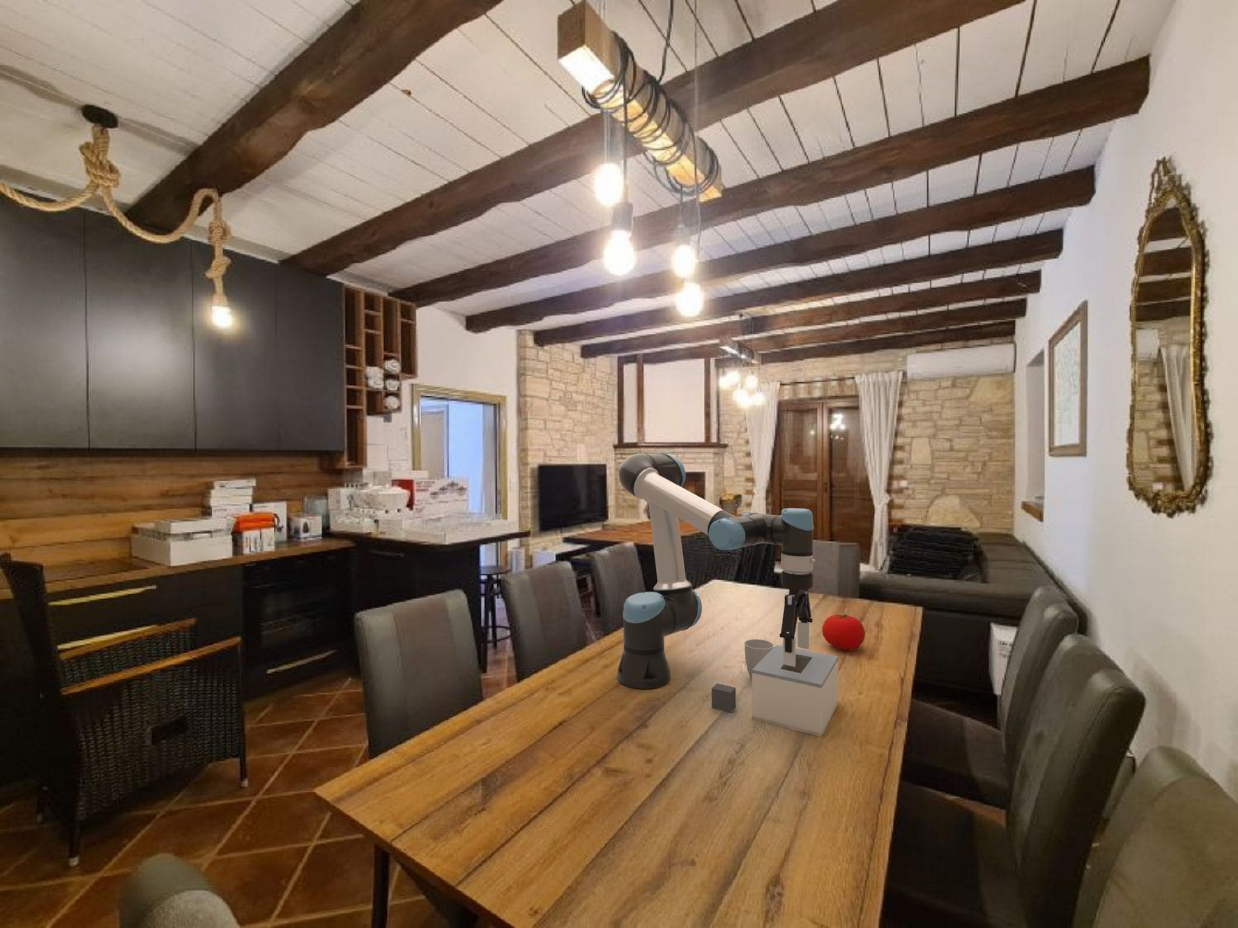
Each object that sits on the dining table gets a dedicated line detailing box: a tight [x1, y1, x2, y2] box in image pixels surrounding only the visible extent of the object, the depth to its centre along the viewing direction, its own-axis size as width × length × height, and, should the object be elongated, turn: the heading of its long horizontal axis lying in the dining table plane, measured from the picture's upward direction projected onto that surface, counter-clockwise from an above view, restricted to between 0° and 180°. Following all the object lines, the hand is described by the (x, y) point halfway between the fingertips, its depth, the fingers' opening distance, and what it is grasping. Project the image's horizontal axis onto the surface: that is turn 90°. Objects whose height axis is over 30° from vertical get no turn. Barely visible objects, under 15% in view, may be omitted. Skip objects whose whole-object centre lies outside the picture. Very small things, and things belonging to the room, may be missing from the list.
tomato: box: [821, 614, 866, 651], centre depth 179 cm, size 12×13×11 cm
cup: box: [743, 638, 775, 681], centre depth 154 cm, size 8×8×10 cm
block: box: [711, 682, 737, 713], centre depth 137 cm, size 5×4×5 cm
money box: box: [751, 644, 839, 738], centre depth 135 cm, size 16×20×12 cm
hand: (796, 656), depth 135 cm, fingers open, 13 cm apart
